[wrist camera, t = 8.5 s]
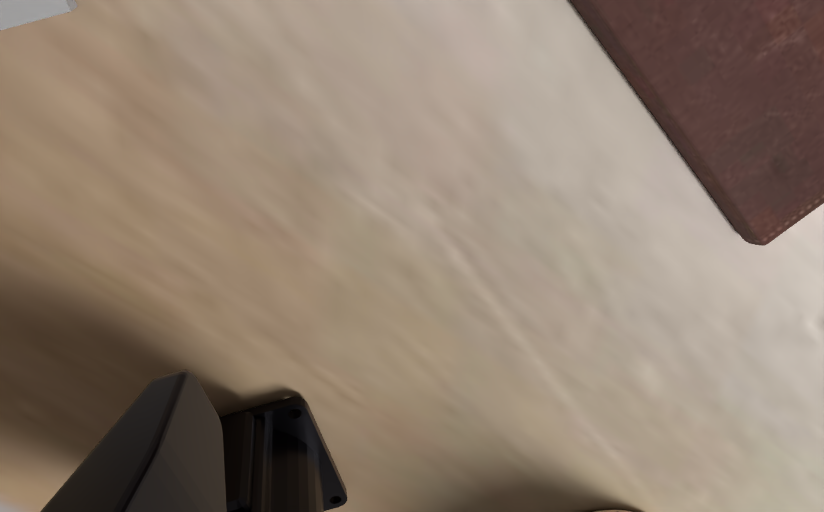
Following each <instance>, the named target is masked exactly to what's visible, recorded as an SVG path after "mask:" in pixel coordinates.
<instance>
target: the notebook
mask: <svg viewBox="0 0 824 512" xmlns="http://www.w3.org/2000/svg"><path fill="white" fill-rule="evenodd" d="M571 1H572V3H573V4H574V6H575V7H576V8H577V10H578V11H579V13H580V14H581V15H582V17H583V18H584V19H585V21H586V22H587V24H588V25H589V26H590V28H591V29H592V31H593V32H594V33H595V35H596V36H597V37H598V39H599V40H600V42H601V43H602V44H603V46H604V47H605V49H606V50H607V51H608V53H609V54H610V55H611V57H612V58H613V60H614V61H615V62H616V64H617V65H618V67H619V68H620V69H621V71H622V72H623V74H624V75H625V76H626V78H627V79H628V80H629V82H630V83H631V85H632V86H633V87H634V89H635V90H636V92H637V93H638V94H639V96H640V97H641V98H642V100H643V101H644V103H645V104H646V105H647V107H648V108H649V110H650V111H651V112H652V114H653V115H654V116H655V118H656V119H657V121H658V122H659V123H660V125H661V126H662V128H663V129H664V130H665V132H666V133H667V134H668V136H669V137H670V139H671V140H672V141H673V143H674V144H675V146H676V147H677V148H678V150H679V151H680V153H681V154H682V155H683V157H684V158H685V159H686V161H687V162H688V164H689V165H690V166H691V168H692V169H693V171H694V172H695V173H696V175H697V176H698V177H699V179H700V180H701V182H702V183H703V184H704V186H705V187H706V189H707V190H708V191H709V193H710V194H711V195H712V197H713V198H714V200H715V201H716V202H717V204H718V205H719V207H720V208H721V209H722V211H723V212H724V213H725V215H726V216H727V218H728V219H729V220H730V222H731V223H732V225H733V226H734V227H735V229H736V230H737V231H738V233H739V234H740V236H741V237H742V238H743V239H744V240H745V241H746V242H748V243H751V244H755V245H766V244H768V243H769V242H771V241H772V240H773V239H775V238H776V237H778V236H779V235H780V234H782V233H783V232H784V231H786V230H787V229H789V228H790V227H791V226H793V225H794V224H795V223H797V222H798V221H800V220H801V219H802V218H804V217H805V216H806V215H808V214H809V213H811V212H812V211H813V210H815V209H816V208H817V207H819V206H820V205H821V204H823V203H824V0H571Z"/></svg>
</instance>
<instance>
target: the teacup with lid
mask: <svg viewBox="0 0 824 512" xmlns="http://www.w3.org/2000/svg"><path fill="white" fill-rule="evenodd" d="M594 512H632V511H626V510H601V511H594Z"/></svg>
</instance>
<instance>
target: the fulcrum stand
mask: <svg viewBox="0 0 824 512" xmlns="http://www.w3.org/2000/svg"><path fill="white" fill-rule="evenodd" d="M76 7H77V4H76V2H75V0H0V30H4V29H7V28H11V27H15V26H18V25H22V24H26V23H29V22H33V21H37V20H41V19H44V18H48V17H52V16H55V15H59V14H63V13H66V12H70V11H72V10H73V9H75V8H76Z"/></svg>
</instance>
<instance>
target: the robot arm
mask: <svg viewBox="0 0 824 512" xmlns="http://www.w3.org/2000/svg"><path fill="white" fill-rule="evenodd" d="M292 409H298V410H297V411H291V410H292ZM346 501H347V492H346V488H345V485H344V483H343V481H342V479H341V477H340V474H339V472H338V470H337V468H336V465H335V463H334V461H333V459H332V457H331V454H330V452H329V450H328V448H327V446H326V443H325V441H324V439H323V437H322V434H321V432H320V430H319V428H318V426H317V423H316V421H315V419H314V417H313V414H312V412H311V410H310V408H309V406H308V403H307V402H306V401H305V400H304V399H303V398H300V397H290V398H287V399H283V400H280V401H276V402H272V403H269V404H265V405H262V406H258V407H255V408H251V409H248V410H244V411H240V412H237V413H233V414H230V415H226V416H223V417H218V415H217V413H216V411H215V409H214V407H213V406H212V404H211V402H210V400H209V399H208V397H207V395H206V393H205V392H204V390H203V388H202V387H201V385H200V383H199V381H198V380H197V378H196V376H195V375H194V374H193V373H192V372H190V371H187V370H182V371H178V372H175V373H171V374H167V375H164V376H160V377H158V378H155V379H154V380H153V381H152V382H151V383H150V384H149V385H148V386H147V387H146V388H145V389H144V391H143V392H142V393H141V394H140V395H139V396H138V398H137V399H136V400H135V401H134V402H133V404H132V405H131V406H130V407H129V408H128V409H127V411H126V412H125V413H124V414H123V415H122V416H121V418H120V419H119V420H118V421H117V422H116V424H115V425H114V426H113V427H112V428H111V429H110V431H109V432H108V433H107V434H106V435H105V436H104V438H103V439H102V440H101V441H100V442H99V443H98V445H97V446H96V447H95V448H94V449H93V451H92V452H91V453H90V454H89V455H88V456H87V458H86V459H85V460H84V461H83V462H82V463H81V465H80V466H79V467H78V468H77V469H76V470H75V472H74V473H73V474H72V475H71V476H70V478H69V479H68V480H67V481H66V482H65V483H64V485H63V486H62V487H61V488H60V489H59V490H58V492H57V493H56V494H55V495H54V496H53V498H52V499H51V500H50V501H49V502H48V503H47V505H46V506H45V507H44V508H43V509H42V510H41V512H324V511H326V510H330V509H333V508H337V507H340V506H342V505H344V504H345V503H346Z"/></svg>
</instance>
